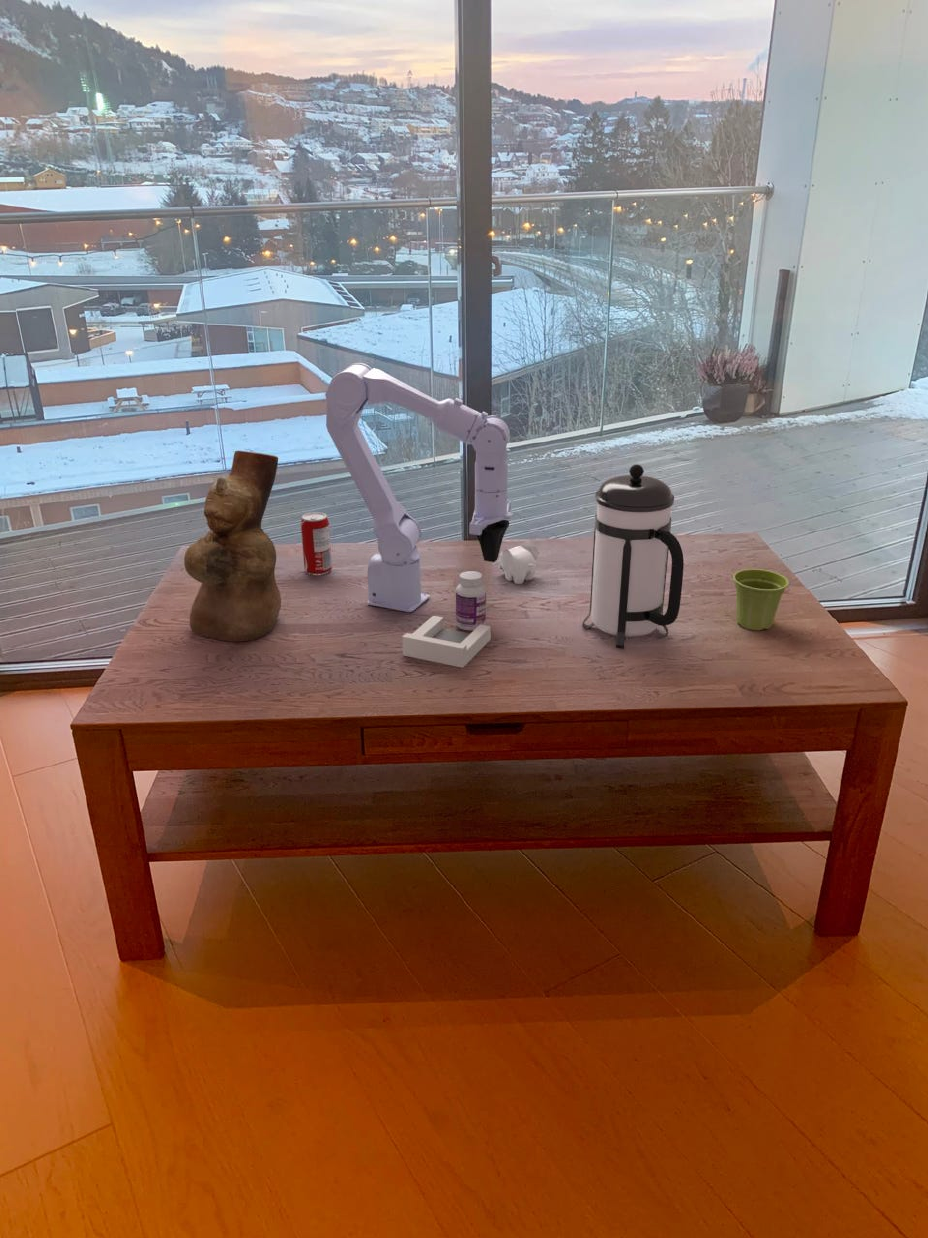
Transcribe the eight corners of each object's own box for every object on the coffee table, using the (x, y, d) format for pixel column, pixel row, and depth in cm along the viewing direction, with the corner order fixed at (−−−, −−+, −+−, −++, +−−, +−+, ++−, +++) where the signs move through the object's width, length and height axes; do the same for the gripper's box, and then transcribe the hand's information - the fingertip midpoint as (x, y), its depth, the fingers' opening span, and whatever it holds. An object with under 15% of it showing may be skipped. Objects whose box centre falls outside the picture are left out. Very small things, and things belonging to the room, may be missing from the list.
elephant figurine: (510, 566, 194) (510, 533, 191) (546, 578, 188) (547, 545, 185) (484, 576, 189) (485, 543, 186) (521, 589, 183) (522, 555, 180)
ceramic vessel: (172, 633, 166) (147, 466, 154) (252, 590, 184) (236, 437, 171) (243, 652, 159) (223, 479, 147) (319, 605, 177) (307, 447, 164)
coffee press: (571, 645, 161) (579, 474, 148) (592, 609, 175) (601, 449, 162) (673, 661, 155) (691, 484, 143) (687, 622, 169) (704, 458, 157)
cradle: (403, 655, 158) (402, 636, 156) (433, 628, 167) (433, 610, 166) (462, 667, 154) (462, 648, 152) (490, 639, 163) (490, 621, 162)
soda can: (309, 565, 195) (304, 509, 190) (335, 566, 195) (331, 510, 190) (301, 575, 190) (296, 518, 185) (327, 576, 190) (323, 519, 185)
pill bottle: (482, 632, 166) (483, 581, 162) (453, 630, 167) (452, 579, 163) (488, 620, 171) (488, 570, 167) (459, 617, 172) (459, 568, 167)
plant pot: (785, 618, 171) (792, 573, 167) (778, 639, 163) (784, 592, 159) (732, 609, 174) (738, 565, 171) (723, 629, 166) (728, 584, 163)
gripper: (496, 502, 159) (495, 577, 164) (527, 479, 171) (525, 550, 176) (458, 497, 161) (458, 571, 167) (491, 475, 173) (490, 545, 179)
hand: (490, 560), depth 172 cm, fingers closed
